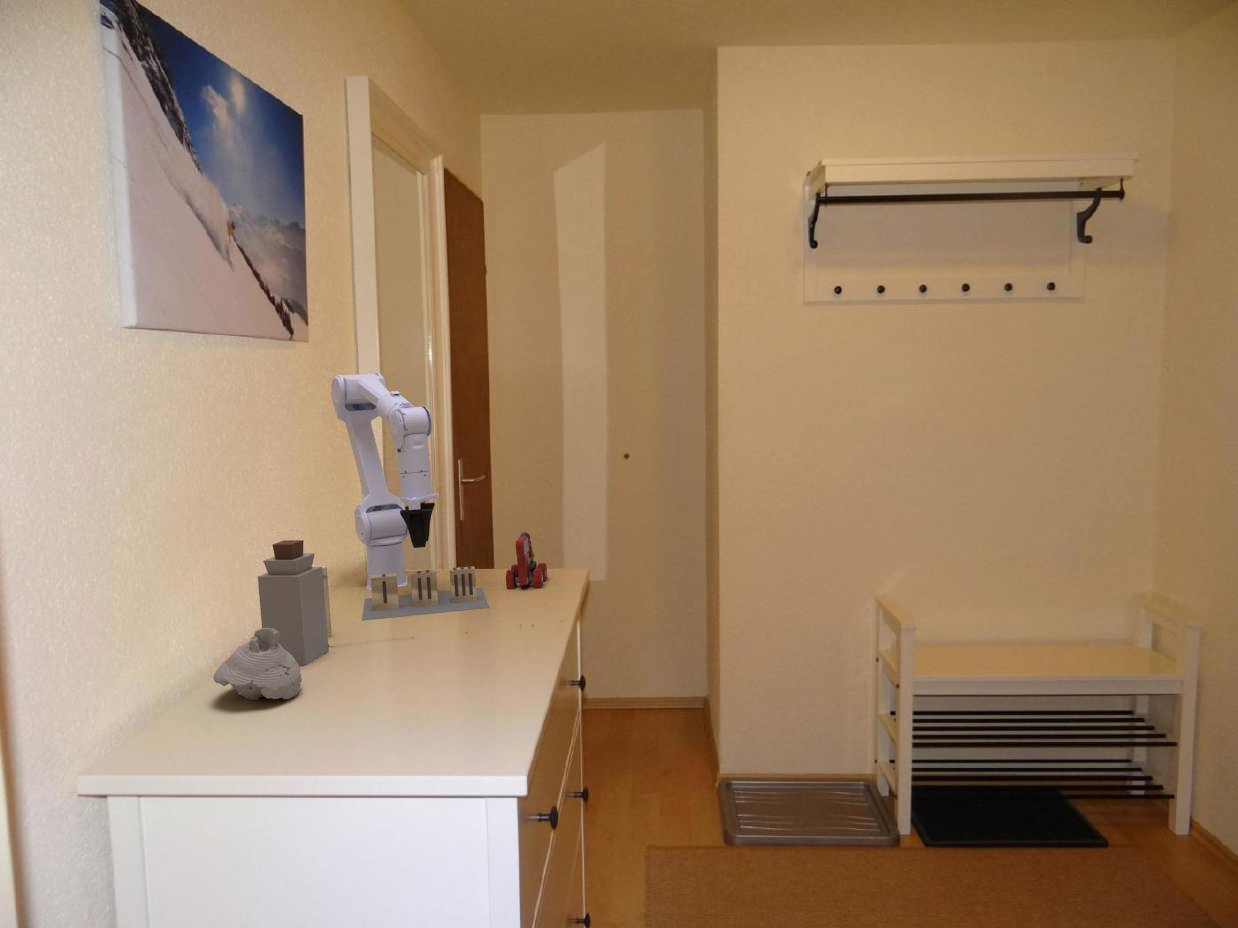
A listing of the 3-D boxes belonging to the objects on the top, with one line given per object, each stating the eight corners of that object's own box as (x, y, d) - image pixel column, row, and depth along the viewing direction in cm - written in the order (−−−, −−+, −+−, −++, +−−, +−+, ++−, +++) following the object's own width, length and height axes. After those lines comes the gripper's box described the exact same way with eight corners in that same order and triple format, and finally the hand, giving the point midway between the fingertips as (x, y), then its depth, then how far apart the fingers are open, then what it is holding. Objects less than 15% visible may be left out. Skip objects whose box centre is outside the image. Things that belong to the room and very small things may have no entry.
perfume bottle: (305, 665, 137) (296, 546, 135) (265, 664, 139) (255, 546, 137) (328, 651, 144) (319, 538, 142) (289, 650, 145) (280, 538, 143)
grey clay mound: (322, 703, 128) (331, 635, 125) (249, 734, 118) (258, 661, 115) (265, 669, 134) (273, 602, 131) (191, 695, 124) (199, 624, 121)
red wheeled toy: (549, 578, 187) (546, 528, 186) (540, 593, 175) (537, 540, 174) (515, 579, 188) (512, 529, 186) (504, 594, 175) (501, 541, 174)
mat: (365, 601, 174) (364, 598, 174) (481, 590, 179) (481, 587, 179) (361, 623, 159) (361, 620, 159) (489, 610, 164) (489, 607, 164)
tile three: (451, 600, 170) (449, 567, 169) (475, 597, 171) (473, 565, 170) (452, 603, 168) (450, 570, 167) (476, 600, 169) (474, 567, 168)
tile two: (412, 604, 168) (410, 571, 168) (437, 601, 169) (435, 568, 169) (412, 607, 166) (410, 573, 166) (438, 604, 167) (436, 571, 167)
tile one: (373, 607, 167) (370, 574, 166) (398, 605, 168) (396, 572, 167) (373, 610, 165) (370, 577, 164) (398, 608, 166) (396, 574, 165)
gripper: (434, 472, 164) (440, 547, 165) (438, 467, 178) (444, 537, 179) (393, 476, 163) (400, 551, 164) (401, 470, 177) (408, 540, 178)
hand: (421, 544), depth 171 cm, fingers open, 7 cm apart
